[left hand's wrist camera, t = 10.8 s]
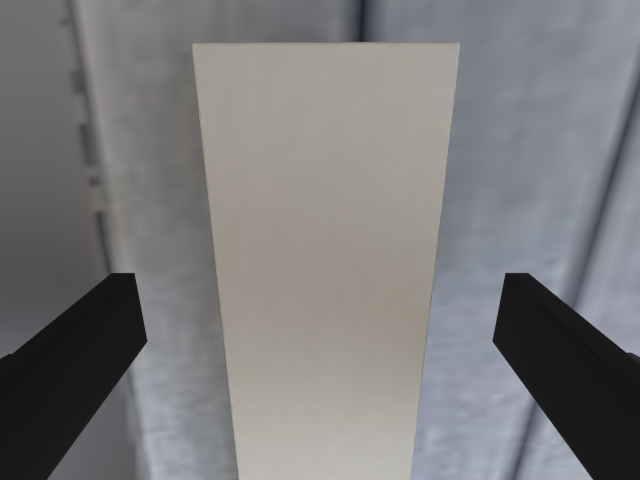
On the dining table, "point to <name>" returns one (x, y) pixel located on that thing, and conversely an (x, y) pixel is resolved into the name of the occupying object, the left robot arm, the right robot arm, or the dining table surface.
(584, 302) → the dining table surface
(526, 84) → the dining table surface
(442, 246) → the dining table surface
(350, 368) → the beam
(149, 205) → the dining table surface
